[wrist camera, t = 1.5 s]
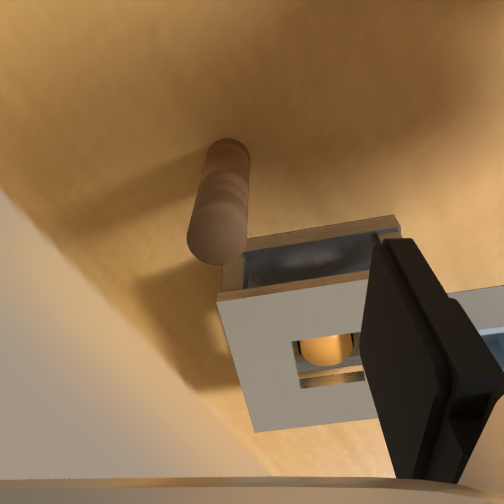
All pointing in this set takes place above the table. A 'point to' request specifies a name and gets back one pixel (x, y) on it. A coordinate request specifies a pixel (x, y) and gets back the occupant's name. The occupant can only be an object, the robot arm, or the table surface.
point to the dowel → (221, 205)
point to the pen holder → (486, 316)
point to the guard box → (300, 321)
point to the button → (327, 349)
